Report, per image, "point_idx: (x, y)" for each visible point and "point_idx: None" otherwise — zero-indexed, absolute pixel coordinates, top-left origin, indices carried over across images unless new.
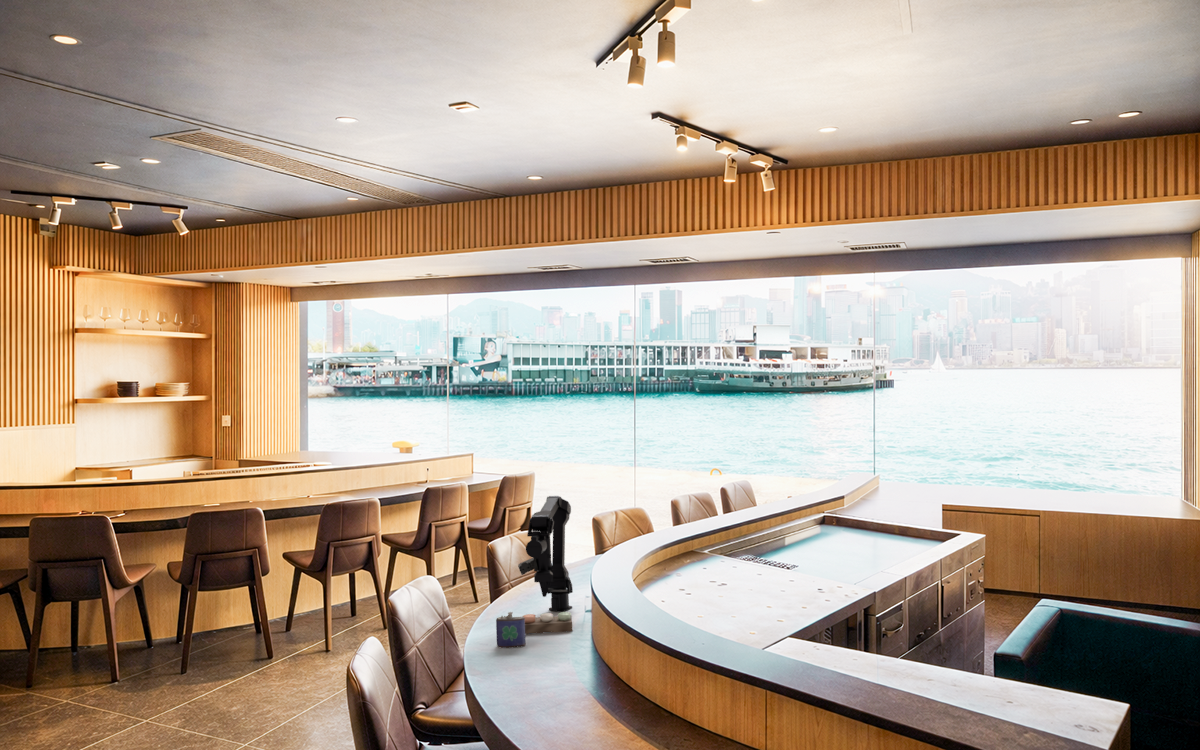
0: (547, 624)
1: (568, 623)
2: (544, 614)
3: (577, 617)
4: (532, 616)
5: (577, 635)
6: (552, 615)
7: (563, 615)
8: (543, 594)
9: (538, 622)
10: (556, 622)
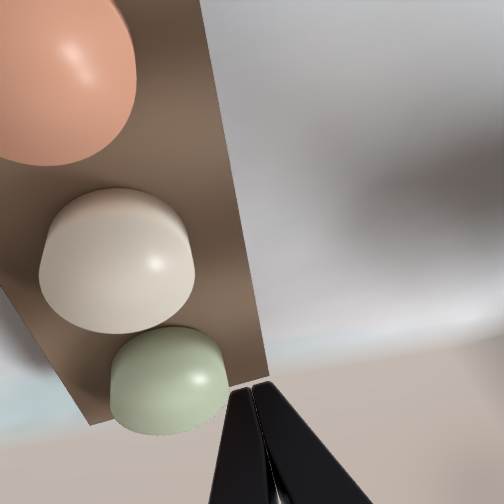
0: (2, 276)
1: (80, 401)
2: (138, 255)
3: (390, 322)
4: (24, 134)
5: (6, 415)
6: (113, 332)
7: (118, 409)
8: (225, 438)
9: (19, 186)
10: (55, 341)
